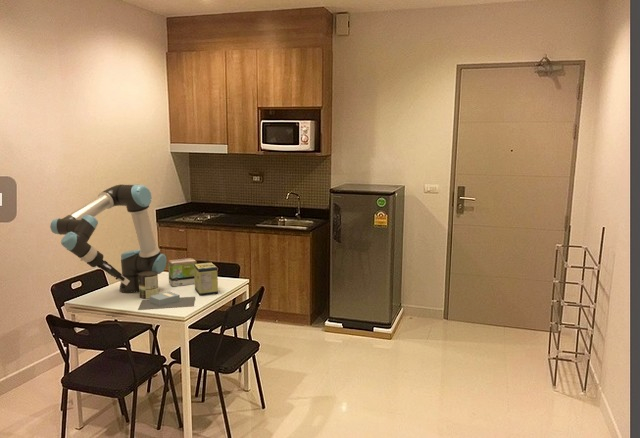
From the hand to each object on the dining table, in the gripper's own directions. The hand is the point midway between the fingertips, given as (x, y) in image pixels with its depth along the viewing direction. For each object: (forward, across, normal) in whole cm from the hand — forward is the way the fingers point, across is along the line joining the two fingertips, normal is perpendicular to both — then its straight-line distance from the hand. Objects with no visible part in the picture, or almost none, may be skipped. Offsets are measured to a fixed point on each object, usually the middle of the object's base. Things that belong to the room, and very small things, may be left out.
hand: (127, 282), depth 252 cm
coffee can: (+25, -15, +2) cm, 29 cm away
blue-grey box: (+19, +1, 0) cm, 19 cm away
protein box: (+45, -1, +22) cm, 50 cm away
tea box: (+46, -26, +22) cm, 57 cm away
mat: (+25, +4, +3) cm, 25 cm away
